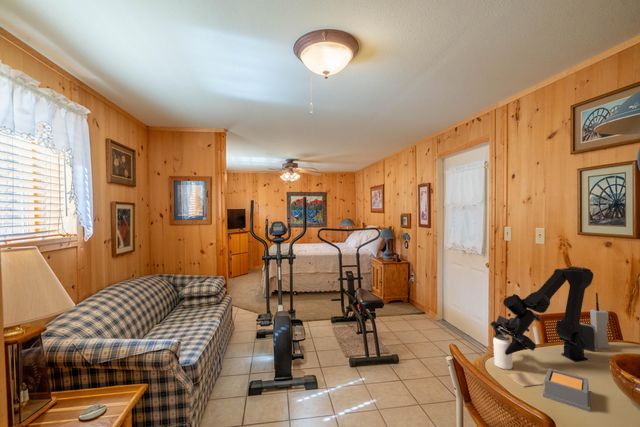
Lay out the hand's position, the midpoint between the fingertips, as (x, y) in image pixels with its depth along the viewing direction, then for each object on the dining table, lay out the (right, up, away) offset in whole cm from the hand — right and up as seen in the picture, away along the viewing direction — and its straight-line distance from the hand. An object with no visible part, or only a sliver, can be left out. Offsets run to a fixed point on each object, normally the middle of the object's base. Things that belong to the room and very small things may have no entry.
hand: (499, 350), depth 120 cm
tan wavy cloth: (+3, -6, -10) cm, 12 cm away
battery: (+48, -5, +12) cm, 49 cm away
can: (+2, -7, 0) cm, 7 cm away
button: (+11, -3, -20) cm, 23 cm away
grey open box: (+11, -6, -20) cm, 24 cm away
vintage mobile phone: (+55, -5, +13) cm, 57 cm away
